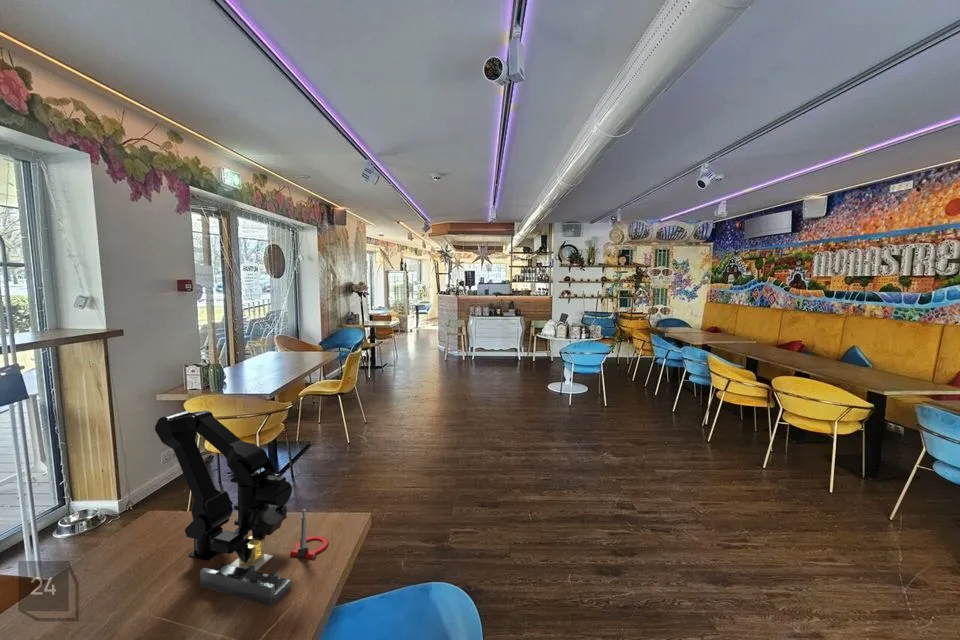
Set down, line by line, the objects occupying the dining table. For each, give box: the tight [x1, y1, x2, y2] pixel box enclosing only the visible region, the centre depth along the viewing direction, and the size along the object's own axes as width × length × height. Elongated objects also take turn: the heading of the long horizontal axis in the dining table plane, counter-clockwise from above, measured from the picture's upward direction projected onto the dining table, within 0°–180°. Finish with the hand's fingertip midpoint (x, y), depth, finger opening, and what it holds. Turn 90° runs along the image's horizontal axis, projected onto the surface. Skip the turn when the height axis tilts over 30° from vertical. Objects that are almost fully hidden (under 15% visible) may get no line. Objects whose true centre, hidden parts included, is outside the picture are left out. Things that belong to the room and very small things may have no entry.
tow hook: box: [289, 508, 329, 560], centre depth 110 cm, size 8×13×9 cm
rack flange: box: [199, 563, 292, 607], centre depth 95 cm, size 20×6×4 cm, turn 76°
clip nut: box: [238, 535, 265, 566], centre depth 104 cm, size 4×4×5 cm
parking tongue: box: [229, 553, 274, 572], centre depth 104 cm, size 8×6×1 cm
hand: (251, 556), depth 104 cm, fingers closed on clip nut, 4 cm apart
